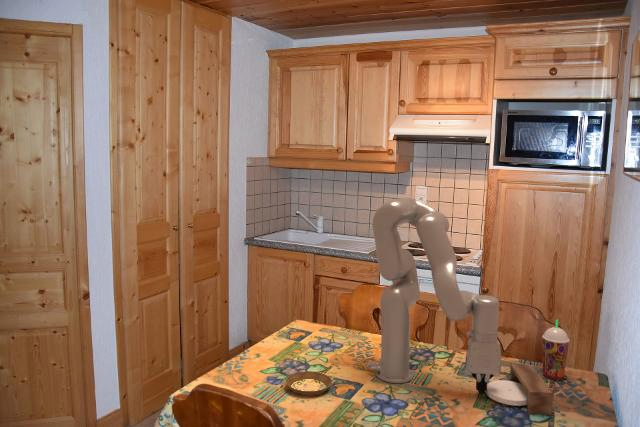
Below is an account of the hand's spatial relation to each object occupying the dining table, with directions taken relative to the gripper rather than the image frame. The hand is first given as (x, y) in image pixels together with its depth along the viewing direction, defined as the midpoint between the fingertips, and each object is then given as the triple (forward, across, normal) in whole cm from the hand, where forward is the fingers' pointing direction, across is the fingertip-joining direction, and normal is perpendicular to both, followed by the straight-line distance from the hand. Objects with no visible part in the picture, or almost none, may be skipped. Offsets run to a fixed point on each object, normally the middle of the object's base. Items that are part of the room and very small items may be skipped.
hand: (481, 392), depth 164 cm
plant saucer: (+2, -54, 0) cm, 54 cm away
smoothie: (+1, +28, +17) cm, 33 cm away
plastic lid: (+2, +9, 0) cm, 9 cm away
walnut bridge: (+1, +14, 0) cm, 14 cm away
